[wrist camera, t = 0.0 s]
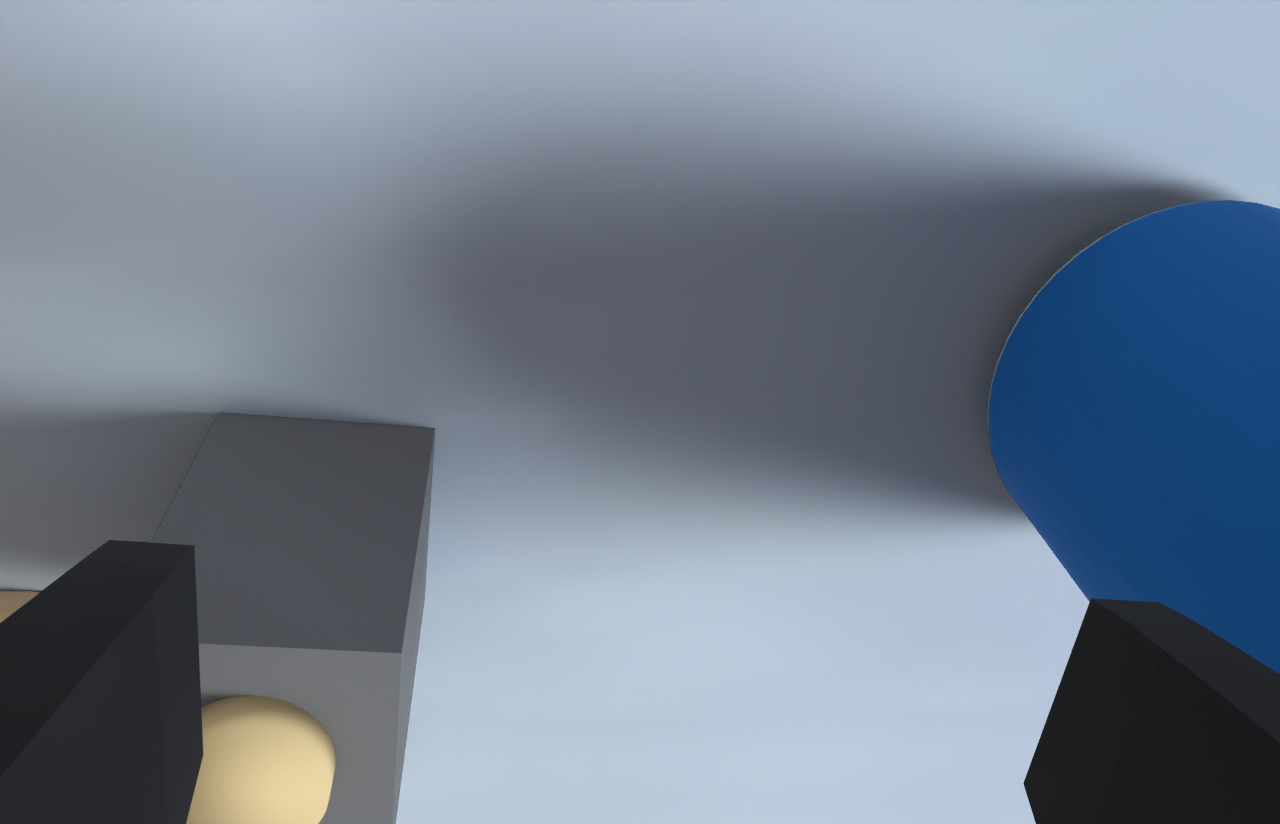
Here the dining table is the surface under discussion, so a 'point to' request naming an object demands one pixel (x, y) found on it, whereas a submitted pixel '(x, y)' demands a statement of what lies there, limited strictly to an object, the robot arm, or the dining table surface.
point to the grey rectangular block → (305, 614)
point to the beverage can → (1156, 417)
